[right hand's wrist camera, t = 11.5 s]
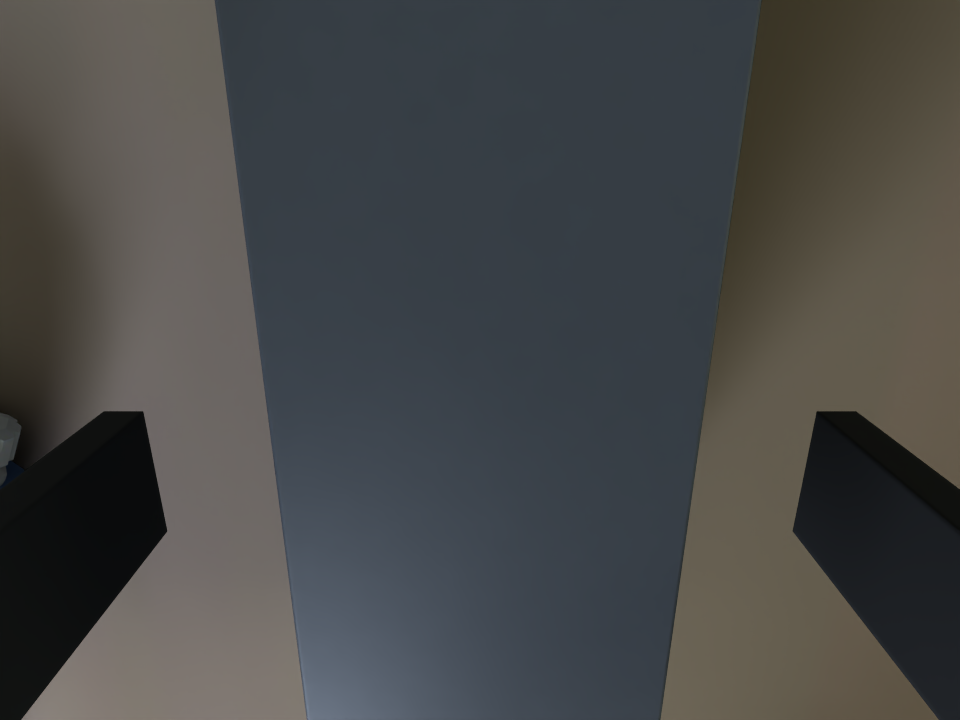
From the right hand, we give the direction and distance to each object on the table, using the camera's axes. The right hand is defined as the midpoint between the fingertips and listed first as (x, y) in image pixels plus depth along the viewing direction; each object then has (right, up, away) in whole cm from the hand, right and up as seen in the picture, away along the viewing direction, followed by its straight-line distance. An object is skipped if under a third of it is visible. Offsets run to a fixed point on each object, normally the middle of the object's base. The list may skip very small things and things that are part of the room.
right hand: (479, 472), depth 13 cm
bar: (0, +23, -4) cm, 24 cm away
